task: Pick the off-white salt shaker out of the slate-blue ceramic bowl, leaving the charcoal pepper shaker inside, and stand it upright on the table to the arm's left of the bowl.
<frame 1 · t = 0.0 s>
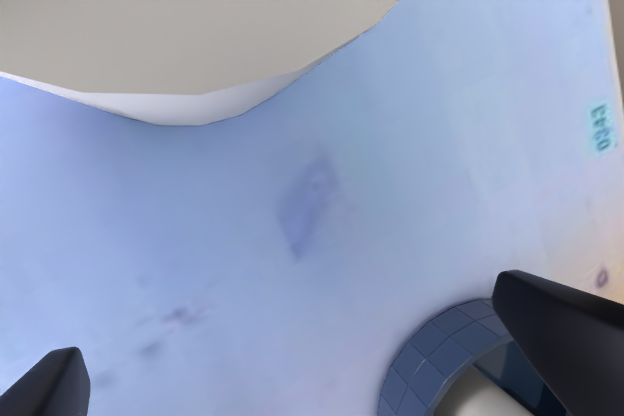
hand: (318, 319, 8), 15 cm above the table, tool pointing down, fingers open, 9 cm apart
pepper shaker: (496, 413, 31), resting on bowl
bowl: (468, 394, 30), on the table
salt shaker: (444, 380, 28), resting on bowl
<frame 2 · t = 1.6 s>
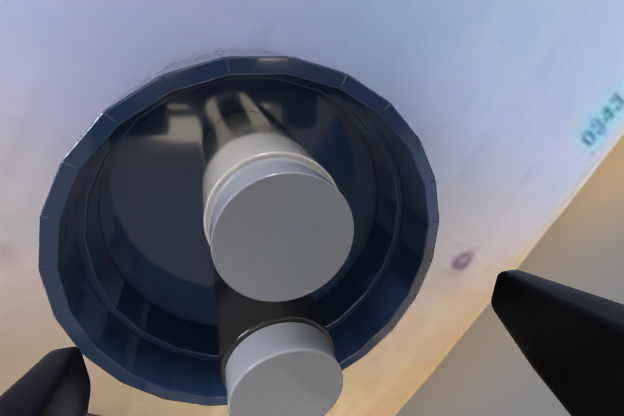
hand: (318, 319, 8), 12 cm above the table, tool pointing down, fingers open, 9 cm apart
pepper shaker: (254, 269, 21), resting on bowl
bowl: (251, 214, 20), on the table
salt shaker: (248, 159, 18), resting on bowl
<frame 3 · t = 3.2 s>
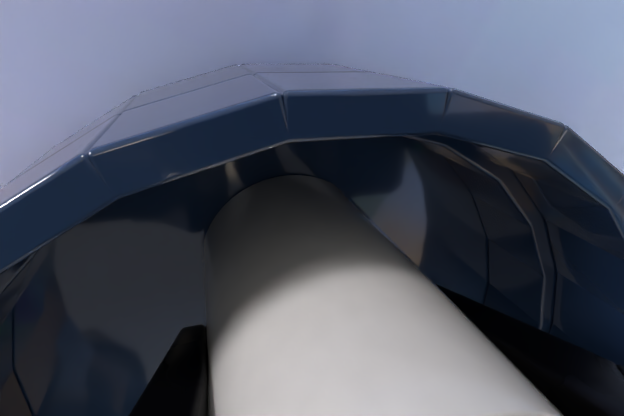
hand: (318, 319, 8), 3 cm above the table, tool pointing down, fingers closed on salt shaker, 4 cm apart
bowl: (286, 332, 12), on the table
salt shaker: (288, 253, 10), resting on bowl, touching gripper
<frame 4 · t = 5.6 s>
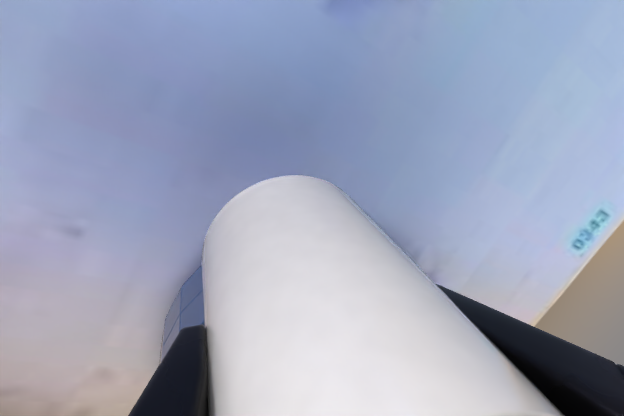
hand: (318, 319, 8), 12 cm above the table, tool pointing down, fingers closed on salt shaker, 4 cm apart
bowl: (297, 329, 24), on the table
salt shaker: (288, 253, 10), point 10 cm above the table, touching gripper
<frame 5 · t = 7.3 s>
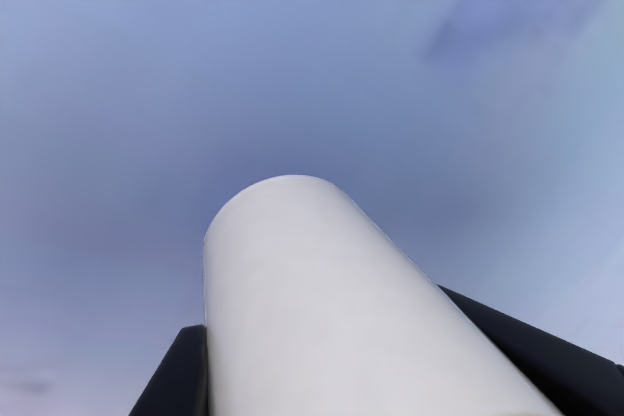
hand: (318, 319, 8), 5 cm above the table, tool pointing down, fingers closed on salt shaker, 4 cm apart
salt shaker: (288, 252, 10), point 2 cm above the table, touching gripper
when the fingers open (3 cm above the table, at t = 8.2 s): salt shaker stays where it is, on the table.
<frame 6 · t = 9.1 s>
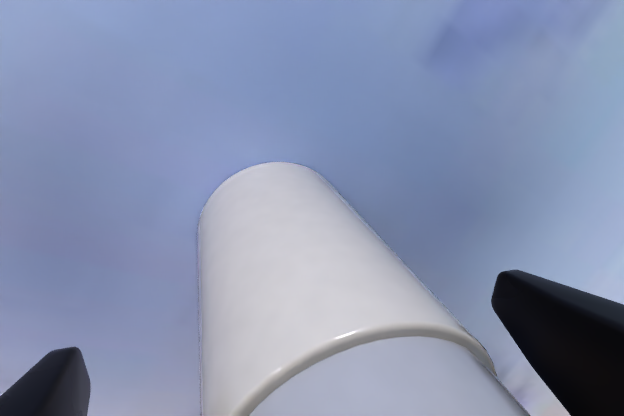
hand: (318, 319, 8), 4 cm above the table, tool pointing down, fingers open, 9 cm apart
salt shaker: (274, 232, 12), on the table
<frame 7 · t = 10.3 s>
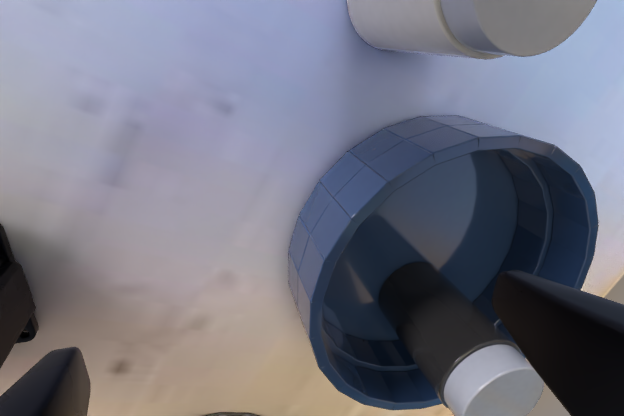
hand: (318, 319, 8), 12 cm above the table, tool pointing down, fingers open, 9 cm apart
pepper shaker: (410, 291, 24), resting on bowl
bowl: (414, 245, 23), on the table
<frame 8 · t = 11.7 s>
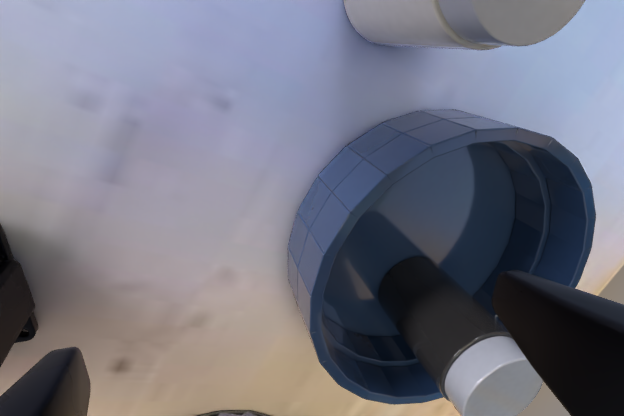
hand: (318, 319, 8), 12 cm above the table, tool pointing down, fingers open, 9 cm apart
pepper shaker: (409, 286, 24), resting on bowl
bowl: (412, 240, 23), on the table
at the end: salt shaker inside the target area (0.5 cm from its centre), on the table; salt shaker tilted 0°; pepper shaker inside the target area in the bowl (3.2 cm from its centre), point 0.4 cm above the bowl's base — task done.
